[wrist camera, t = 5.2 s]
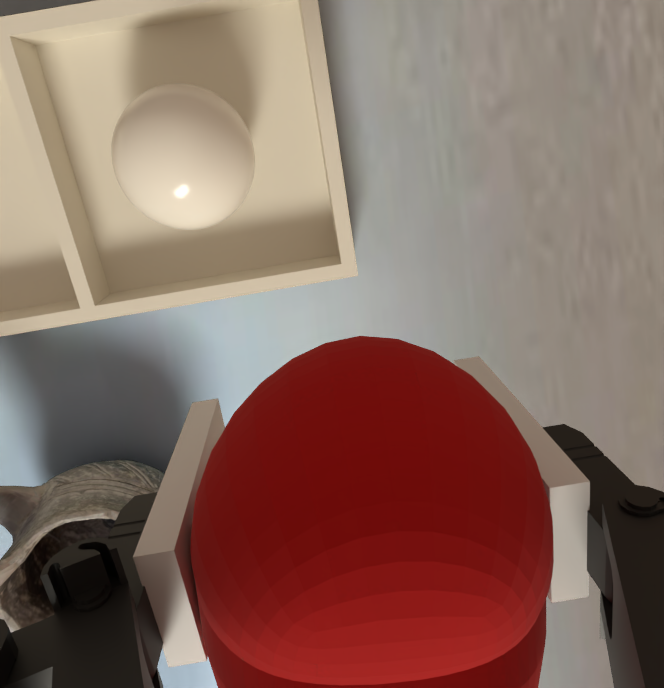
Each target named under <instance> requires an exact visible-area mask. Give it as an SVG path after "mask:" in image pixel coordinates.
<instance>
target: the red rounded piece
mask: <svg viewBox="0 0 664 688" xmlns="http://www.w3.org/2000/svg"><path fill="white" fill-rule="evenodd" d="M190 552H191V563H192V568H193V574H194V579H195V584H196V590H197V597H198V604H199V611H200V618H201V625H202V633H203V638H204V643H205V648H206V651H207V654H208V657H209V661H210V664H211V667H212V670H213V673H214V676H215V679H216V682H217V686H218V688H538V684H539V678H540V672H541V666H542V660H543V653H544V647H545V639H546V597H547V594H548V592H549V588H550V584H551V579H552V573H553V563H554V550H553V521H552V514H551V508H550V503H549V500H548V497H547V494H546V490H545V487H544V484H543V481H542V478H541V475H540V472H539V469H538V465H537V462H536V460H535V457H534V455H533V453H532V451H531V449H530V447H529V446H528V444H527V442H526V441H525V439H524V438H523V436H522V434H521V433H520V431H519V429H518V428H517V426H516V425H515V423H514V421H513V420H512V418H511V417H510V415H509V414H508V412H507V411H506V409H505V408H504V407H503V406H502V405H501V404H500V403H499V402H498V401H497V400H496V399H495V398H494V397H493V396H492V395H491V394H490V393H489V392H488V391H487V390H486V389H485V388H484V387H483V386H482V385H481V384H480V383H479V382H478V381H477V380H476V379H475V378H474V377H473V376H472V375H470V374H469V373H467V372H466V371H464V370H463V369H461V368H459V367H458V366H456V365H455V364H453V363H451V362H450V361H448V360H447V359H445V358H443V357H442V356H440V355H439V354H437V353H435V352H434V351H431V350H428V349H425V348H422V347H419V346H416V345H413V344H410V343H408V342H405V341H402V340H399V339H392V338H379V337H367V336H358V337H353V338H348V339H343V340H338V341H333V342H329V343H325V344H323V345H320V346H318V347H316V348H314V349H312V350H310V351H308V352H306V353H304V354H302V355H299V356H297V357H295V358H293V359H292V360H290V361H289V362H288V363H286V364H285V365H284V366H282V367H281V368H280V369H278V370H277V371H276V372H275V373H273V374H272V375H271V376H269V377H268V378H267V379H265V380H264V381H263V382H262V383H261V384H260V385H259V386H258V387H257V388H256V389H255V390H254V391H253V392H252V394H251V395H250V396H249V397H248V398H247V399H246V400H245V401H244V402H243V404H242V405H241V406H240V407H239V408H238V409H237V410H236V411H235V413H234V414H233V416H232V417H231V419H230V421H229V422H228V424H227V426H226V428H225V429H224V431H223V433H222V434H221V436H220V438H219V439H218V441H217V443H216V444H215V446H214V448H213V449H212V451H211V454H210V456H209V459H208V462H207V465H206V468H205V471H204V473H203V476H202V479H201V482H200V485H199V488H198V491H197V493H196V499H195V504H194V512H193V521H192V530H191V544H190Z"/></svg>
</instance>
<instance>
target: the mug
mask: <svg viewBox="0 0 664 688" xmlns="http://www.w3.org/2000/svg"><path fill="white" fill-rule="evenodd" d="M164 475H165V474H164V473H163V472H161V471H159V470H158V469H156V468H153V467H151V466H148V465H145V464H142V463H139V462H135V461H130V460H114V461H100V462H93V463H89V464H85V465H82V466H78V467H76V468H73V469H70V470H68V471H65V472H63V473H61V474H59V475H57V476H55V477H54V478H52V479H50V480H49V481H48V482H46V483H44V484H43V485H42V486H36V487H25V486H0V524H1V525H2V526H4V527H5V528H6V529H7V530H8V531H9V532H10V534H11V535H12V536H13V544H12V546H11V547H10V548H9V550H8V551H7V552H6V553H5V555H4V556H3V557H2V558H1V560H0V619H3V620H5V622H6V624H7V625H8V627H9V629H10V632H14V631H16V630H19V629H21V628H24V627H26V626H29V625H31V624H34V623H36V622H39V621H41V620H44V619H46V618H48V617H50V616H52V615H54V610H53V607H52V605H51V602H50V600H49V597H48V595H47V592H46V590H45V587H44V585H43V582H42V580H41V577H40V575H41V573H42V570H43V567H44V566H45V565H46V564H47V562H48V561H49V560H50V559H51V558H52V557H53V556H54V555H56V554H57V553H58V552H60V551H61V550H63V549H64V548H66V547H68V546H70V545H72V544H74V543H76V542H78V541H82V540H86V539H90V538H106V539H108V536H109V534H110V532H111V529H112V528H113V527H114V523H115V521H116V519H117V517H118V514H119V512H120V510H121V509H122V508H123V507H124V506H125V505H126V504H127V503H128V502H129V501H130V500H131V499H132V498H133V497H134V496H137V495H143V494H149V493H155V492H158V490H159V488H160V485H161V483H162V480H163V477H164Z"/></svg>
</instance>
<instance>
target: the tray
mask: <svg viewBox="0 0 664 688" xmlns="http://www.w3.org/2000/svg"><path fill="white" fill-rule="evenodd" d="M170 83H185V84H191V85H196V86H199V87H202V88H205V89H208V90H210V91H212V92H214V93H215V94H217V95H219V96H220V97H222V98H223V99H224V100H225V101H227V102H228V103H229V104H230V105H231V106H232V107H233V108H234V109H235V110H236V111H237V113H238V114H239V115H240V117H241V118H242V120H243V121H244V123H245V125H246V127H247V129H248V131H249V133H250V136H251V138H252V142H253V146H254V152H255V173H254V178H253V182H252V186H251V188H250V191H249V193H248V195H247V197H246V198H245V200H244V202H243V203H242V204H241V206H240V207H239V208H238V209H237V210H236V211H235V212H234V213H233V214H232V215H231V216H229V217H228V218H227V219H225V220H223V221H222V222H220V223H218V224H215V225H213V226H210V227H207V228H203V229H197V230H181V229H175V228H171V227H167V226H164V225H162V224H159V223H157V222H155V221H153V220H151V219H150V218H148V217H146V216H145V215H144V214H142V213H141V212H140V211H139V210H138V209H137V208H136V207H135V206H133V205H132V203H131V202H130V201H129V200H128V198H127V197H126V196H125V194H124V193H123V191H122V189H121V187H120V185H119V183H118V181H117V179H116V176H115V173H114V169H113V165H112V157H111V143H112V137H113V132H114V129H115V126H116V123H117V121H118V119H119V117H120V115H121V114H122V112H123V111H124V109H125V108H126V107H127V106H128V105H129V103H130V102H131V101H133V100H134V99H135V98H136V97H137V96H139V95H140V94H142V93H143V92H145V91H147V90H149V89H151V88H153V87H156V86H159V85H163V84H170ZM353 276H358V271H357V265H356V258H355V251H354V244H353V237H352V231H351V224H350V217H349V210H348V203H347V197H346V190H345V183H344V176H343V169H342V162H341V156H340V149H339V142H338V135H337V128H336V122H335V115H334V108H333V101H332V94H331V88H330V81H329V74H328V67H327V60H326V53H325V47H324V40H323V33H322V26H321V19H320V13H319V6H318V0H96V1H91V2H85V3H79V4H73V5H67V6H61V7H55V8H49V9H43V10H38V11H32V12H26V13H20V14H14V15H8V16H2V17H0V337H1V336H7V335H13V334H19V333H25V332H31V331H37V330H42V329H48V328H54V327H60V326H66V325H72V324H78V323H84V322H89V321H95V320H101V319H107V318H113V317H119V316H125V315H130V314H136V313H142V312H148V311H154V310H160V309H166V308H172V307H177V306H183V305H189V304H195V303H201V302H207V301H213V300H218V299H224V298H230V297H236V296H242V295H248V294H254V293H260V292H265V291H271V290H277V289H283V288H289V287H295V286H301V285H306V284H312V283H318V282H324V281H330V280H336V279H342V278H348V277H353Z"/></svg>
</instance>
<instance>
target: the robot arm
mask: <svg viewBox="0 0 664 688" xmlns="http://www.w3.org/2000/svg"><path fill="white" fill-rule="evenodd" d="M454 364H455V365H456V366H458V367H459V368H461V369H463V370H464V371H466V372H467V373H469V374H470V375H472V376H473V377H474V378H475V379H476V380H477V381H478V382H479V383H480V384H481V385H482V386H483V387H484V388H485V389H486V390H487V391H488V392H489V393H490V394H491V395H492V396H493V397H494V398H495V399H496V400H497V401H498V402H499V403H500V404H501V405H502V406H503V407H504V408H505V409H506V411H507V412H508V414H509V415H510V417H511V418H512V420H513V421H514V423H515V425H516V426H517V428H518V429H519V431H520V433H521V434H522V436H523V438H524V439H525V441H526V442H527V444H528V446H529V447H530V449H531V451H532V453H533V455H534V457H535V460H536V462H537V465H538V469H539V472H540V475H541V478H542V481H543V484H544V487H545V490H546V494H547V497H548V500H549V503H550V508H551V514H552V521H553V550H554V563H553V573H552V579H551V584H550V588H549V592H548V594H547V596H548V597H549V599H550V601H551V603H554V602H560V601H566V600H572V599H577V598H583V597H589V574H590V576H591V577H592V578H593V580H594V581H595V583H596V584H597V586H598V587H599V589H600V590H601V597H600V639H606V644H607V649H608V655H609V660H610V666H611V672H612V677H613V683H614V688H664V492H662V491H659V490H656V489H653V488H650V487H645V486H638V485H635V484H634V483H633V482H632V481H631V480H630V479H629V478H628V477H627V476H626V475H625V474H624V473H623V472H622V471H620V470H619V469H618V468H617V467H616V466H615V465H614V464H613V463H612V462H611V461H610V460H609V459H608V458H607V457H606V456H604V454H603V453H602V452H601V451H600V450H599V449H598V448H597V447H595V446H594V444H593V443H592V442H591V441H590V440H589V439H588V438H587V437H586V436H585V435H584V434H583V433H582V432H580V431H578V430H575V429H573V428H571V427H569V426H567V425H565V424H561V425H555V426H549V427H543V428H542V427H541V426H540V425H539V423H538V422H537V421H536V420H535V419H534V418H533V417H532V416H531V414H530V413H529V412H528V411H527V410H526V409H525V408H524V407H523V405H522V404H521V403H520V402H519V401H518V400H517V399H516V398H515V396H514V395H513V394H512V393H511V392H510V391H509V390H508V388H507V387H506V386H505V385H504V384H503V383H502V382H501V381H500V379H499V378H498V377H497V376H496V375H495V374H494V373H493V372H492V370H491V369H490V368H489V367H488V366H487V365H486V364H485V363H484V361H483V360H482V359H481V358H480V357H472V358H466V359H460V360H454ZM224 429H225V426H224V422H223V418H222V413H221V409H220V405H219V401H218V399H212V400H206V401H200V402H194V403H192V405H191V407H190V410H189V413H188V415H187V418H186V420H185V423H184V425H183V428H182V431H181V433H180V436H179V438H178V441H177V444H176V446H175V449H174V451H173V454H172V457H171V459H170V462H169V464H168V467H167V470H166V472H165V475H164V477H163V480H162V483H161V485H160V488H159V490H158V492H155V493H149V494H143V495H137V496H134V497H133V498H132V499H131V500H130V501H129V502H128V503H127V504H126V505H125V506H124V507H123V508H122V509H121V510H120V512H119V514H118V517H117V519H116V521H115V523H114V527H113V528H112V529H111V532H110V534H109V536H108V539H106V538H90V539H86V540H82V541H78V542H76V543H74V544H72V545H70V546H68V547H66V548H64V549H63V550H61V551H60V552H58V553H57V554H56V555H54V556H53V557H52V558H51V559H50V560H49V561H48V562H47V564H46V565H45V566H44V567H43V570H42V573H41V575H40V577H41V580H42V582H43V585H44V587H45V590H46V592H47V595H48V597H49V600H50V602H51V605H52V607H53V610H54V615H52V616H50V617H48V618H46V619H44V620H41V621H39V622H36V623H34V624H31V625H29V626H26V627H24V628H21V629H19V630H16V631H14V632H10V629H9V627H8V625H7V624H6V622H5V620H3V619H0V688H163V684H162V681H161V678H160V675H159V672H158V669H157V665H158V661H159V657H160V653H161V650H162V648H163V651H164V654H165V657H166V660H167V663H168V666H169V667H174V666H180V665H186V664H192V663H198V662H203V661H207V656H208V654H207V651H206V648H205V643H204V638H203V633H202V625H201V618H200V611H199V604H198V597H197V590H196V584H195V579H194V574H193V568H192V563H191V552H190V544H191V530H192V521H193V512H194V504H195V499H196V493H197V491H198V488H199V485H200V482H201V479H202V476H203V473H204V471H205V468H206V465H207V462H208V459H209V456H210V454H211V451H212V449H213V448H214V446H215V444H216V443H217V441H218V439H219V438H220V436H221V434H222V433H223V431H224Z"/></svg>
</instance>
